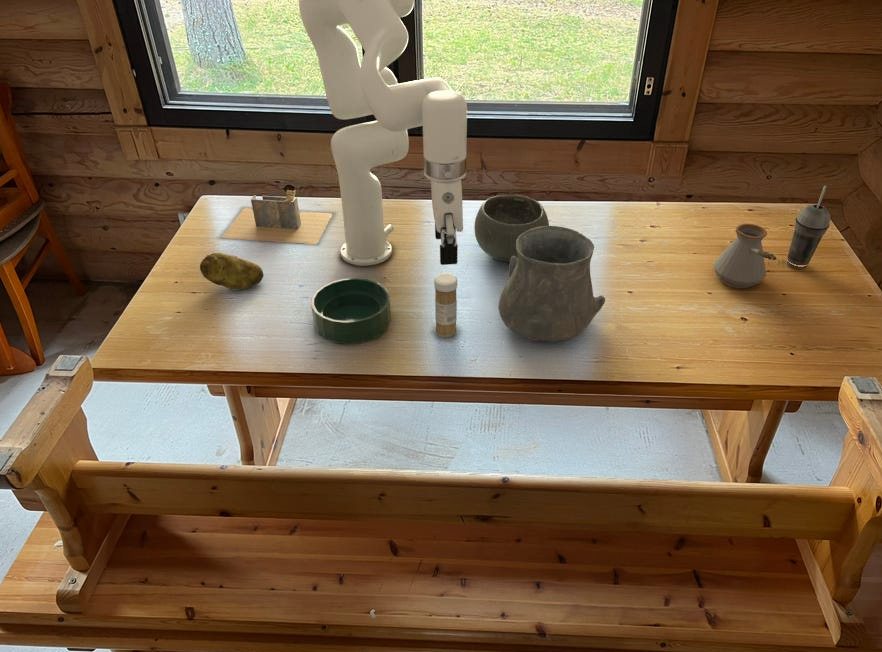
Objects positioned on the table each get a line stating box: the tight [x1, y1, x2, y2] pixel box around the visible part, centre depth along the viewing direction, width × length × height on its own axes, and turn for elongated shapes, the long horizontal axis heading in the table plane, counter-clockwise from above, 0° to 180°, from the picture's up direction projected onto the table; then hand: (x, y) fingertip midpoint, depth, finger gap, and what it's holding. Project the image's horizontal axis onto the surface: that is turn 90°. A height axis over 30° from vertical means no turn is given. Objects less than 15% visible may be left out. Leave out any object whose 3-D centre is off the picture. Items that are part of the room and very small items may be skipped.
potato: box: [199, 252, 264, 291], centre depth 156 cm, size 8×13×8 cm, turn 80°
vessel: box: [498, 225, 606, 343], centre depth 141 cm, size 22×22×20 cm
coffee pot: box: [713, 223, 781, 289], centre depth 152 cm, size 21×12×15 cm, turn 176°
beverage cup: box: [785, 185, 831, 271], centre depth 159 cm, size 7×7×20 cm
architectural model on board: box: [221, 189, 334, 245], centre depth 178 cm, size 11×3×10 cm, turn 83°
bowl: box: [473, 194, 550, 263], centre depth 165 cm, size 18×18×13 cm
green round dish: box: [310, 277, 392, 345], centre depth 146 cm, size 16×16×6 cm
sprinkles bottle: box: [433, 272, 458, 338], centre depth 141 cm, size 5×5×14 cm
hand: (446, 250), depth 132 cm, fingers open, 9 cm apart
